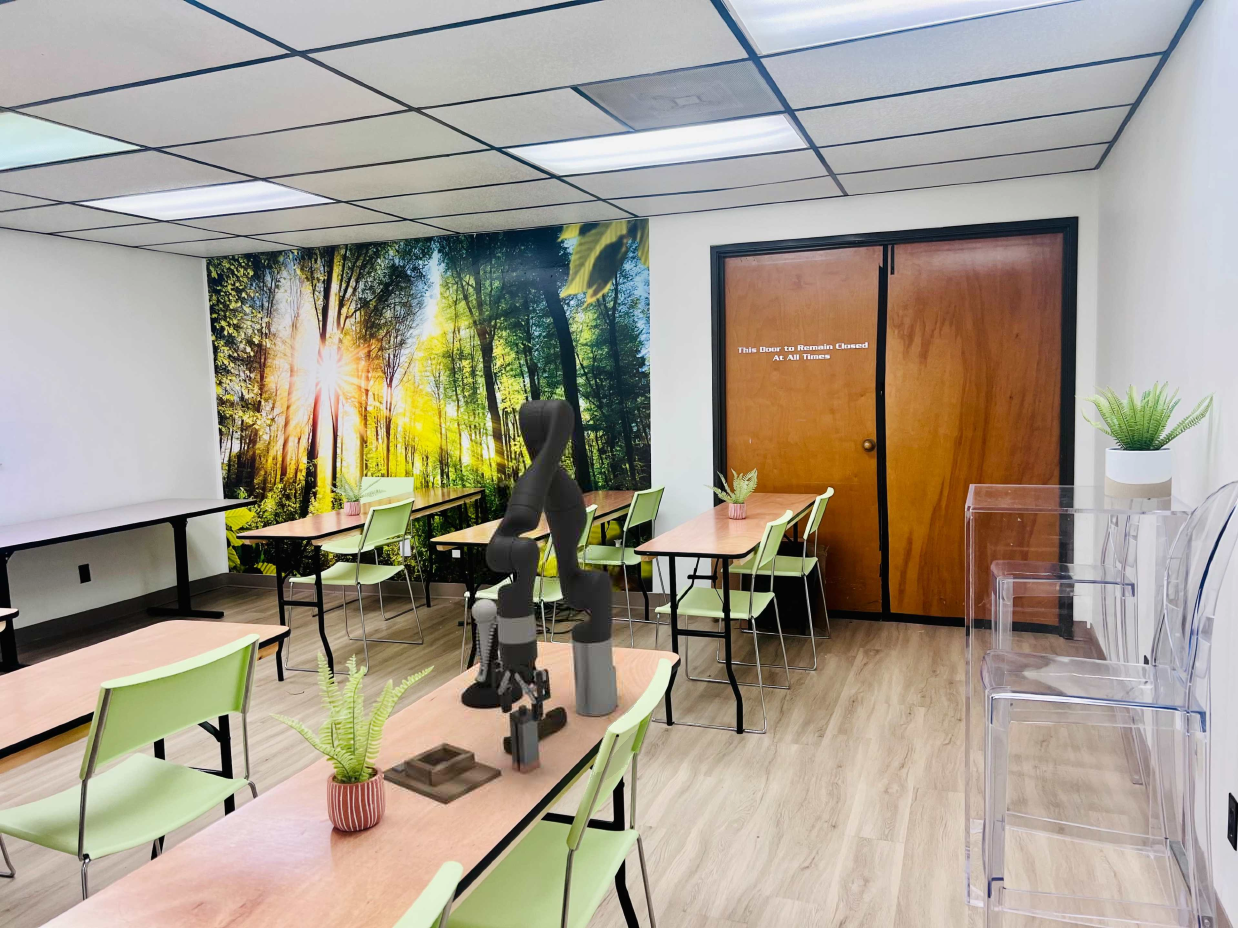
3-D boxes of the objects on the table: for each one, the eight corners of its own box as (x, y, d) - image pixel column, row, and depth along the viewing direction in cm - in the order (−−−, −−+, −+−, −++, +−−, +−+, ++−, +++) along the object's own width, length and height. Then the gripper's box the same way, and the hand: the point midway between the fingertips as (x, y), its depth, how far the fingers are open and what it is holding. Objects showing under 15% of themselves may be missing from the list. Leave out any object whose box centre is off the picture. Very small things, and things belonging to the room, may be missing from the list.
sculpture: (448, 702, 210) (441, 603, 207) (511, 672, 229) (505, 581, 227) (495, 712, 201) (488, 609, 199) (556, 681, 221) (550, 586, 219)
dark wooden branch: (516, 757, 177) (514, 736, 176) (502, 753, 179) (501, 731, 179) (576, 726, 191) (575, 706, 191) (562, 722, 194) (561, 702, 193)
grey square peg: (527, 761, 174) (523, 700, 173) (540, 765, 171) (536, 704, 170) (512, 769, 171) (508, 707, 169) (525, 773, 168) (521, 711, 167)
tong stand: (436, 751, 181) (434, 733, 181) (501, 774, 168) (499, 755, 168) (380, 777, 170) (379, 758, 170) (445, 803, 158) (444, 783, 157)
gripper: (556, 636, 167) (561, 717, 168) (506, 627, 176) (510, 703, 177) (529, 646, 161) (534, 729, 162) (479, 636, 170) (483, 714, 171)
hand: (522, 716), depth 170 cm, fingers open, 8 cm apart
